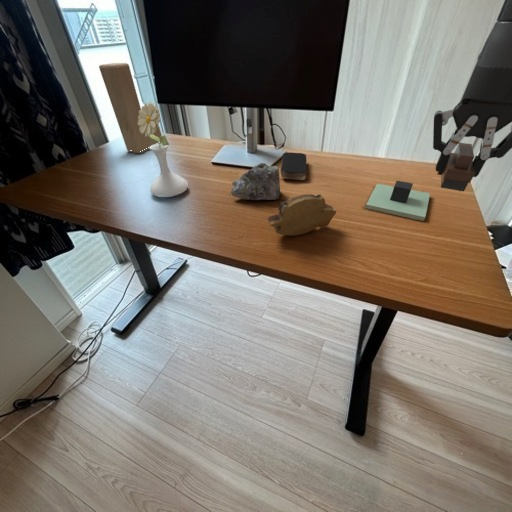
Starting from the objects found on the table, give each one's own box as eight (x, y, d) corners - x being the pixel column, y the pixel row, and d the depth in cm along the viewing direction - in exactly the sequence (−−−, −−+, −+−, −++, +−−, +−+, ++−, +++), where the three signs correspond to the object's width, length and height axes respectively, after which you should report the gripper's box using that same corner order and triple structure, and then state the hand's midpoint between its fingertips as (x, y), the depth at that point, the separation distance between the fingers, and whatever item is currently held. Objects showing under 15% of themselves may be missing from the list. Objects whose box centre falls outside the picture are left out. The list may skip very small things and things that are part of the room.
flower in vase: (147, 190, 85) (118, 100, 68) (181, 180, 89) (161, 94, 73) (159, 207, 76) (129, 108, 60) (197, 195, 80) (178, 101, 64)
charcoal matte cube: (408, 197, 73) (413, 183, 70) (405, 203, 70) (411, 189, 68) (392, 193, 75) (396, 180, 72) (389, 200, 72) (394, 186, 69)
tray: (428, 197, 75) (430, 193, 74) (423, 221, 66) (425, 217, 65) (376, 187, 81) (377, 183, 80) (365, 208, 72) (366, 204, 71)
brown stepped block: (465, 191, 47) (482, 160, 43) (439, 187, 48) (453, 156, 44) (463, 172, 53) (477, 143, 49) (440, 169, 54) (452, 140, 50)
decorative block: (141, 154, 110) (113, 65, 91) (127, 152, 113) (97, 65, 93) (164, 142, 121) (143, 60, 101) (150, 141, 123) (128, 60, 104)
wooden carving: (324, 219, 68) (329, 182, 62) (334, 228, 65) (341, 190, 59) (264, 235, 64) (264, 197, 57) (273, 246, 61) (273, 207, 54)
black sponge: (282, 162, 98) (282, 152, 96) (305, 162, 97) (306, 152, 95) (279, 181, 86) (280, 170, 84) (306, 182, 85) (307, 171, 83)
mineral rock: (229, 200, 78) (226, 166, 71) (247, 185, 85) (245, 153, 78) (270, 209, 73) (270, 174, 66) (285, 192, 80) (286, 159, 74)
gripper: (451, 64, 39) (409, 176, 50) (582, 66, 34) (503, 192, 45) (450, 59, 44) (413, 162, 55) (565, 60, 39) (497, 174, 50)
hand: (454, 175), depth 50 cm, fingers closed on brown stepped block, 4 cm apart
